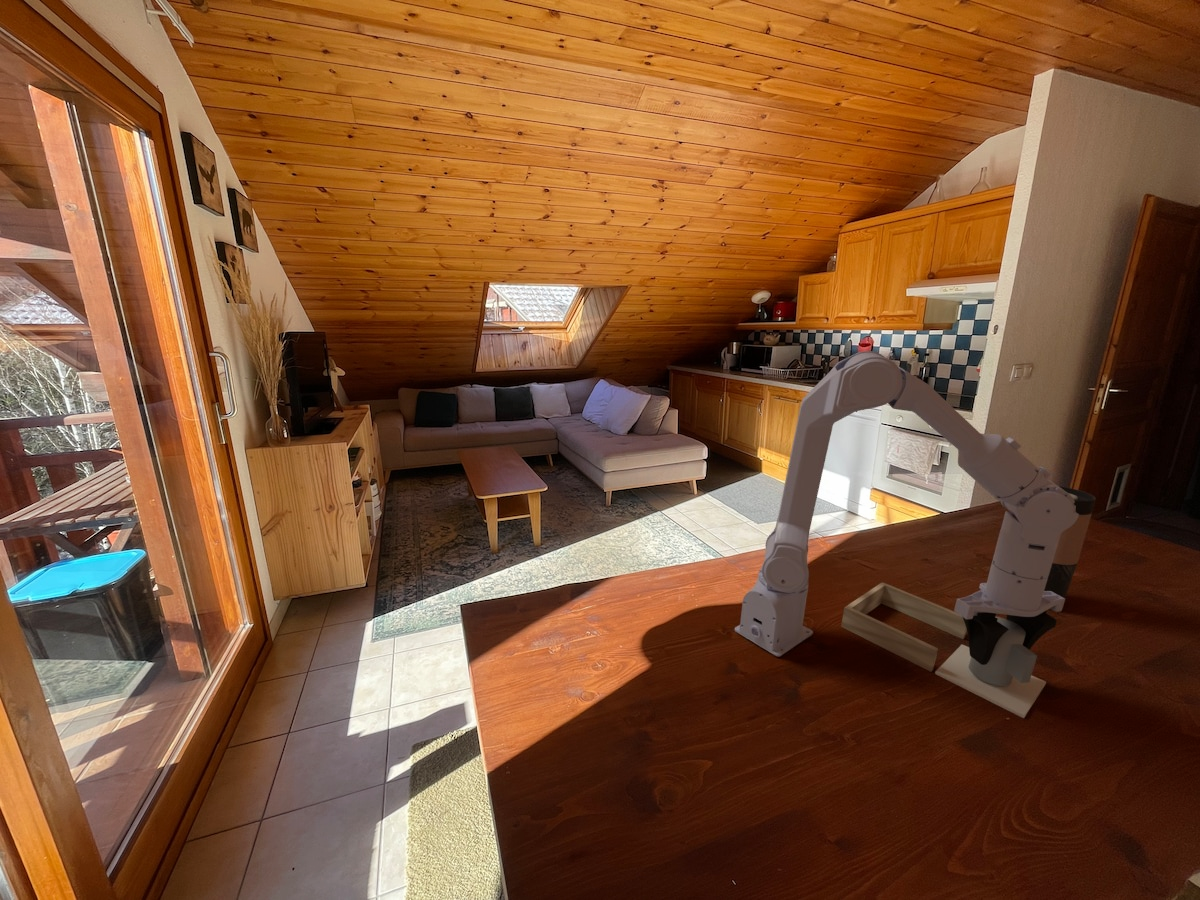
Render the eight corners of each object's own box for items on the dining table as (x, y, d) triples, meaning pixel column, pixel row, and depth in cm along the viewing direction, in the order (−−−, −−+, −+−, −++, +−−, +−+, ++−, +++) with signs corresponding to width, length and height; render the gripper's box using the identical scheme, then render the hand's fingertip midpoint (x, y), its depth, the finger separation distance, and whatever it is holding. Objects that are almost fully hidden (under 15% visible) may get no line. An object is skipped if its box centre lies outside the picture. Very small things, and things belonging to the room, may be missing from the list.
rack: (931, 671, 72) (936, 650, 71) (841, 626, 82) (844, 607, 81) (964, 637, 80) (969, 617, 79) (878, 600, 90) (882, 582, 89)
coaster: (1023, 718, 64) (1024, 715, 64) (935, 673, 72) (935, 671, 71) (1045, 684, 70) (1046, 681, 70) (961, 646, 78) (961, 644, 77)
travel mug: (1043, 588, 94) (1072, 486, 89) (1075, 612, 87) (1110, 502, 82) (998, 585, 95) (1025, 483, 90) (1027, 609, 88) (1058, 499, 82)
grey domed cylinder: (960, 662, 73) (972, 616, 71) (990, 660, 73) (1003, 615, 71) (1003, 699, 66) (1017, 650, 64) (1036, 697, 67) (1052, 648, 64)
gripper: (1037, 550, 71) (1013, 635, 75) (945, 556, 69) (925, 643, 72) (1091, 576, 64) (1062, 668, 68) (991, 584, 62) (967, 678, 66)
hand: (995, 658), depth 70 cm, fingers closed on grey domed cylinder, 5 cm apart
